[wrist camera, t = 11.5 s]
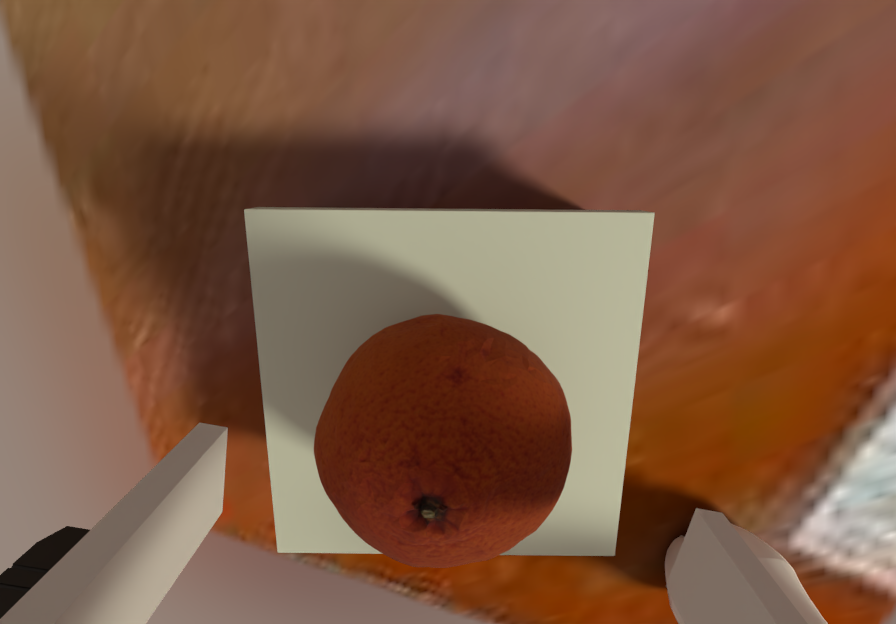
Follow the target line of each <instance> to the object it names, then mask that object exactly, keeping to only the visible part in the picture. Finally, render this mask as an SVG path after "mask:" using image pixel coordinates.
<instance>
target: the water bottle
mask: <svg viewBox="0 0 896 624" xmlns="http://www.w3.org/2000/svg"><path fill="white" fill-rule="evenodd" d="M731 525H732V526H733V527H734V528H735V530H736V531H737V532H738V534H739V535H740V536H741V538H742V539H743V540H744V541H745V543H746V544H747V545H748V547H749V548H750V549H751V551H752V552H753V553H754V554H755V556H756V557H757V558H758V560H759V561H760V562H761V564H762V565H763V566H764V568H765V569H766V570H767V571H768V573H769V574H770V575H771V577H772V578H773V579H774V581H775V582H776V583H777V584H778V586H779V587H780V588H781V590H782V591H783V592H784V594H785V595H786V596H787V597H788V599H789V600H790V601H791V603H792V604H793V605H794V607H795V608H796V609H797V611H798V612H799V613H800V614H801V616H802V617H803V618H804V620H805V621H806V622H807V624H828V623H827V622H826V621H825V619H824V618H823V617H822V615H821V614H820V612H819V611H818V610H817V608H816V607H815V605H814V604H813V602H812V601H811V600H810V598H809V596H808V595H807V593H806V591H805V590H804V588H803V586H802V585H801V583H800V581H799V579H798V578H797V575H796V573H795V571H794V569H793V568H792V566H791V565H790V564H789V563H788V562H787V561H786V560H785V559H784V557H783V556H781V555H780V554H779V553H778V552H777V551H776V550H774V549H773V548H772V547H771V546H769V545H768V544H767V543H765V542H764V541H763V540H762V539H760V538H758V537H757V536H756V535H754V534H753V533H751V532H749V531H747V530H745V529H744V528H741V527H739V526H736V525H734V524H731ZM684 538H685V537H684V536H682V535H681V536H680V537H677V538H676V539H674V540H673V542H672V543H671V545H670V546H669V548H668V550H667V553H666V557H665V577H666V584H667V582H668V579H669V577H670V574H671V572H672V569H673V566H674V564H675V561H676V559H677V556H678V554H679V551H680V548H681V546H682V543H683V541H684ZM667 590H668V589H667ZM668 597H669V603H670V607H671V609H672V611H673V613H674V615H675V617H676V619H677V621H678V623H679V624H685V623H684V621H683V619H682V617H681V615H680V613H679V611H678V609H677V607H676V605H675V603H674V601H673V599H672V597H671V595H670V593H669V591H668Z"/></svg>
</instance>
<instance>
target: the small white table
mask: <svg viewBox="0 0 896 624" xmlns="http://www.w3.org/2000/svg"><path fill="white" fill-rule="evenodd" d="M654 214H655V213H653V212H647V211H641V210H542V209H428V208H314V207H255V208H249V209H244V215H245V225H246V236H247V246H248V256H249V266H250V276H251V286H252V296H253V307H254V317H255V327H256V337H257V347H258V357H259V367H260V378H261V388H262V398H263V408H264V418H265V428H266V438H267V449H268V459H269V469H270V479H271V489H272V499H273V510H274V520H275V530H276V540H277V550H278V553H373V554H383V553H381V552H379V551H378V550H376V549H374V548H373V547H371V546H370V545H368V544H367V543H366V542H364V541H363V540H362V539H361V538H360V537H359V536H358V535H357V534H356V533H355V532H354V531H353V530H352V529H351V528H350V527H349V526H348V524H347V523H346V522H345V521H344V520H343V518H342V517H341V516H340V514H339V513H338V511H337V509H336V508H335V506H334V504H333V503H332V502H331V500H330V499H329V497H328V496H327V495H326V492H325V490H324V488H323V486H322V484H321V481H320V478H319V474H318V470H317V466H316V461H315V456H314V439H315V432H316V427H317V424H318V421H319V418H320V416H321V413H322V411H323V408H324V406H325V404H326V402H327V400H328V398H329V395H330V393H331V390H332V388H333V386H334V384H335V382H336V380H337V378H338V376H339V374H340V373H341V371H342V369H343V367H344V365H345V364H346V362H347V360H348V359H349V358H350V356H351V355H352V354H353V353H354V352H355V351H356V350H357V349H358V347H359V346H361V345H362V344H363V343H364V342H365V341H366V340H368V339H369V338H370V337H371V336H372V335H374V334H376V333H377V332H379V331H381V330H382V329H384V328H386V327H388V326H391V325H394V324H397V323H400V322H403V321H406V320H410V319H413V318H416V317H419V316H422V315H431V314H442V315H449V316H454V317H458V318H464V319H470V320H473V321H476V322H480V323H483V324H486V325H489V326H491V327H493V328H495V329H498V330H500V331H502V332H505V333H507V334H510V335H511V336H513V337H514V338H516V339H518V340H519V341H521V342H522V343H523V344H525V345H526V346H527V347H528V349H529V350H531V351H532V352H534V353H535V354H536V355H537V356H538V357H539V358H540V359H541V360H542V361H543V363H544V364H545V365H546V366H547V367H548V369H549V370H550V371H551V372H552V373H553V375H554V376H555V377H556V379H557V380H558V381H559V383H560V385H561V387H562V389H563V391H564V394H565V398H566V401H567V404H568V408H569V412H570V417H571V436H572V455H571V462H570V468H569V472H568V475H567V478H566V482H565V486H564V489H563V491H562V493H561V496H560V498H559V500H558V502H557V503H556V505H555V507H554V509H553V510H552V512H551V513H550V514H549V516H548V517H547V518H546V519H545V521H544V522H543V523H542V524H541V525H540V527H539V528H538V529H537V530H536V531H535V532H533V533H532V534H530V535H529V536H527V537H526V538H524V539H523V540H522V541H520V542H519V543H518V544H516V545H515V546H514V547H513V548H511V549H510V550H508V551H506V552H504V553H502V554H500V555H562V556H615V549H616V541H617V532H618V523H619V515H620V506H621V498H622V489H623V480H624V472H625V463H626V455H627V446H628V438H629V429H630V420H631V412H632V403H633V395H634V386H635V377H636V369H637V360H638V352H639V343H640V334H641V326H642V317H643V309H644V300H645V291H646V283H647V274H648V266H649V257H650V249H651V240H652V231H653V223H654Z"/></svg>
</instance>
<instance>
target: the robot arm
mask: <svg viewBox="0 0 896 624" xmlns="http://www.w3.org/2000/svg"><path fill="white" fill-rule="evenodd" d="M227 432H228V427H222V426H216V425H211V424H205V423H199V424H198V425H197V426H196V427H195V428H194V429H193V430H192V431H191V432H189V433H188V434H187V435H186V436H185V437H184V438H183V439H182V440H181V441H180V442H179V443H178V444H177V445H176V446H175V447H174V448H173V449H172V450H171V451H170V452H169V453H168V454H167V455H166V456H165V457H164V458H163V459H162V460H161V461H160V462H159V463H158V464H157V465H156V466H155V467H154V468H153V469H152V470H151V471H150V472H149V473H148V474H147V475H146V476H145V477H144V478H143V479H142V480H141V481H140V482H139V483H138V484H137V485H136V486H135V487H134V488H133V489H132V490H131V491H130V492H129V493H128V494H127V495H126V496H125V497H124V498H123V499H121V500H120V502H118V503H117V504H116V505H115V506H114V507H113V509H111V510H110V511H109V512H108V513H107V514H106V515H105V516H104V517H103V518H102V519H101V520H100V521H99V522H98V523H97V524H96V525H95V526H94V527H93V528H92V529H91V530H88V529H82V528H75V527H69V526H66V527H65V528H63V529H61V530H59V531H57V532H55V533H54V534H52V535H50V536H48V537H46V538H44V539H42V540H41V541H39V542H37V543H36V544H35V545H34V546H32V547H31V548H30V549H29V550H28V551H27V552H26V553H25V554H23V555H22V556H21V557H20V558H19V559H18V560H17V561H16V562H15V563H13V566H12V568H8V569H7V570H6V571H4V572H3V573H2V574H1V575H0V624H146V623H147V621H148V619H149V618H150V617H151V615H152V614H153V612H154V611H155V609H156V608H157V607H158V605H159V604H160V602H161V601H162V599H163V598H164V596H165V595H166V593H167V592H168V590H169V589H170V588H171V586H172V585H173V583H174V582H175V580H176V579H177V577H178V576H179V574H180V573H181V571H182V570H183V569H184V567H185V566H186V564H187V563H188V561H189V560H190V558H191V557H192V555H193V554H194V552H195V551H196V550H197V548H198V547H199V545H200V544H201V542H202V541H203V539H204V538H205V536H206V535H207V534H208V532H209V531H210V529H211V528H212V526H213V525H214V523H215V522H216V520H217V519H218V517H219V516H220V515H221V513H222V509H223V494H224V478H225V463H226V448H227ZM666 587H667V589H668V591H669V593H670V595H671V597H672V599H673V601H674V603H675V605H676V607H677V609H678V611H679V613H680V615H681V617H682V619H683V621H684V623H685V624H807V622H806V621H805V620H804V618H803V617H802V616H801V614H800V613H799V612H798V611H797V609H796V608H795V607H794V605H793V604H792V603H791V601H790V600H789V599H788V597H787V596H786V595H785V594H784V592H783V591H782V590H781V588H780V587H779V586H778V584H777V583H776V582H775V581H774V579H773V578H772V577H771V575H770V574H769V573H768V571H767V570H766V569H765V568H764V566H763V565H762V564H761V562H760V561H759V560H758V558H757V557H756V556H755V554H754V553H753V552H752V551H751V549H750V548H749V547H748V545H747V544H746V543H745V541H744V540H743V539H742V538H741V536H740V535H739V534H738V532H737V531H736V530H735V528H734V527H733V526H732V525H731V523H730V522H729V521H728V519H727V518H726V517H725V515H724V514H723V513H721V512H715V511H709V510H704V509H698V508H696V510H695V512H694V515H693V517H692V520H691V522H690V525H689V528H688V530H687V533H686V535H685V538H684V541H683V543H682V546H681V548H680V551H679V554H678V556H677V559H676V561H675V564H674V566H673V569H672V572H671V574H670V577H669V579H668V582H667V585H666Z"/></svg>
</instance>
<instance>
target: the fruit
mask: <svg viewBox="0 0 896 624" xmlns="http://www.w3.org/2000/svg"><path fill="white" fill-rule="evenodd" d="M571 455H572V436H571V417H570V412H569V408H568V404H567V401H566V398H565V394H564V391H563V389H562V387H561V385H560V383H559V381H558V380H557V379H556V377H555V376H554V375H553V373H552V372H551V371H550V370H549V369H548V367H547V366H546V365H545V364H544V363H543V361H542V360H541V359H540V358H539V357H538V356H537V355H536V354H535V353H534V352H532V351H531V350H529V349H528V347H527V346H526V345H525V344H523V343H522V342H521V341H519V340H518V339H516V338H514V337H513V336H511V335H510V334H507V333H505V332H502V331H500V330H498V329H495V328H493V327H491V326H489V325H486V324H483V323H480V322H476V321H473V320H470V319H464V318H458V317H454V316H449V315H442V314H431V315H422V316H419V317H416V318H413V319H410V320H406V321H403V322H400V323H397V324H394V325H391V326H388V327H386V328H384V329H382V330H381V331H379V332H377V333H376V334H374V335H372V336H371V337H370V338H369V339H368V340H366V341H365V342H364V343H363V344H362V345H361V346H359V347H358V349H357V350H356V351H355V352H354V353H353V354H352V355H351V356H350V358H349V359H348V360H347V362H346V364H345V365H344V367H343V369H342V371H341V373H340V374H339V376H338V378H337V380H336V382H335V384H334V386H333V388H332V390H331V393H330V395H329V398H328V400H327V402H326V404H325V406H324V408H323V411H322V413H321V416H320V418H319V421H318V424H317V427H316V432H315V439H314V456H315V461H316V466H317V470H318V474H319V478H320V481H321V484H322V486H323V488H324V490H325V492H326V495H327V496H328V497H329V499H330V500H331V502H332V503H333V504H334V506H335V508H336V509H337V511H338V513H339V514H340V516H341V517H342V518H343V520H344V521H345V522H346V523H347V524H348V526H349V527H350V528H351V529H352V530H353V531H354V532H355V533H356V534H357V535H358V536H359V537H360V538H361V539H362V540H363V541H364V542H366V543H367V544H368V545H370V546H371V547H373V548H374V549H376V550H378V551H379V552H381V553H383V554H385V555H386V556H388V557H390V558H392V559H394V560H396V561H399V562H401V563H404V564H407V565H410V566H413V567H434V568H447V567H453V566H458V565H463V564H468V563H472V562H479V561H485V560H489V559H491V558H493V557H496V556H498V555H500V554H502V553H504V552H506V551H508V550H510V549H511V548H513V547H514V546H515V545H516V544H518V543H519V542H520V541H522V540H523V539H524V538H526V537H527V536H529V535H530V534H532V533H533V532H535V531H536V530H537V529H538V528H539V527H540V525H541V524H542V523H543V522H544V521H545V519H546V518H547V517H548V516H549V514H550V513H551V512H552V510H553V509H554V507H555V505H556V503H557V502H558V500H559V498H560V496H561V493H562V491H563V489H564V486H565V482H566V478H567V475H568V472H569V468H570V462H571Z"/></svg>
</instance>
